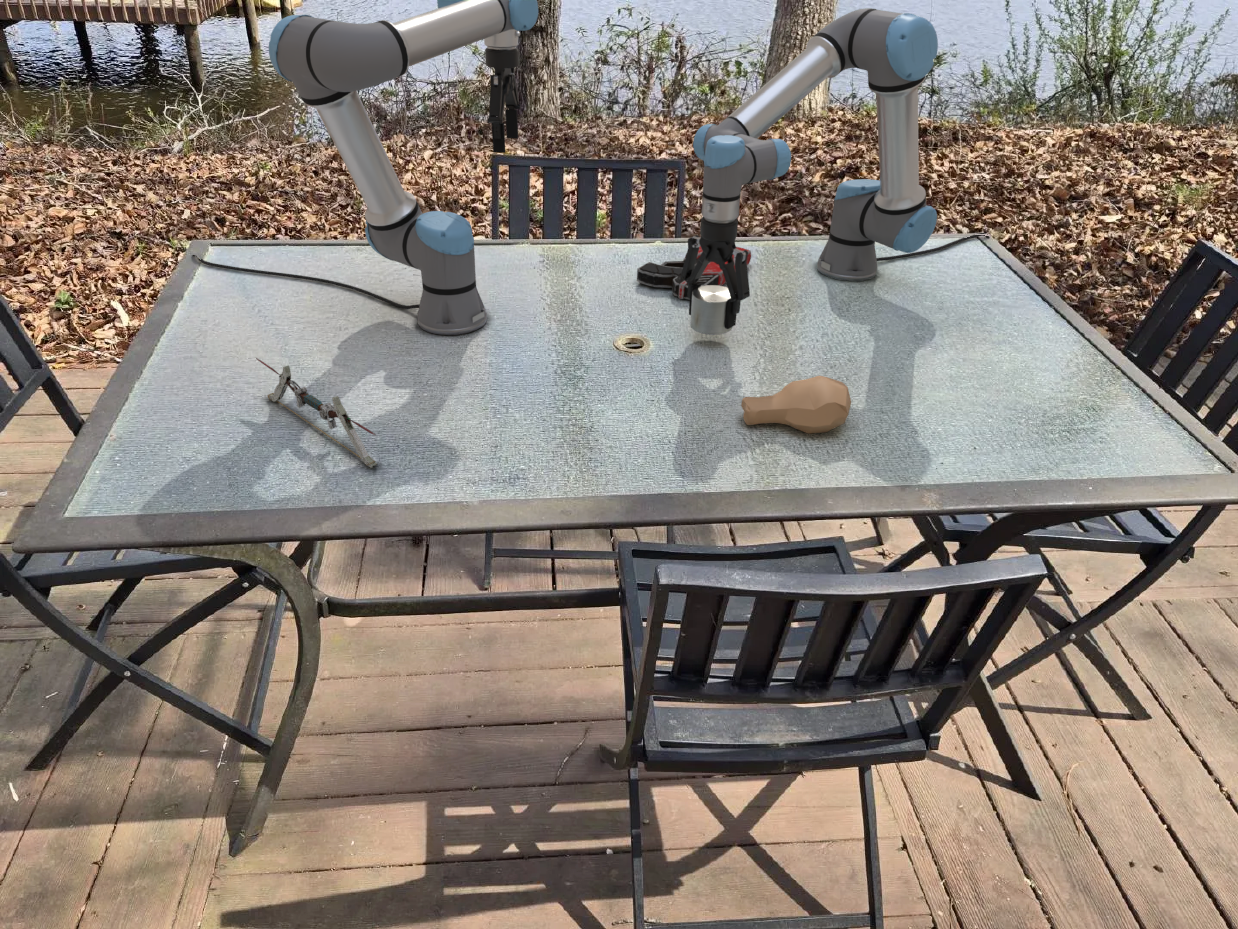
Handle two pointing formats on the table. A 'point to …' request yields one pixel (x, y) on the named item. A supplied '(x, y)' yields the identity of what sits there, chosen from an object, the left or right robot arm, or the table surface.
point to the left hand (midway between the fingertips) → (506, 144)
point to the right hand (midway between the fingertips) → (711, 319)
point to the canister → (709, 309)
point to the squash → (802, 405)
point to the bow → (322, 411)
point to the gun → (671, 274)
